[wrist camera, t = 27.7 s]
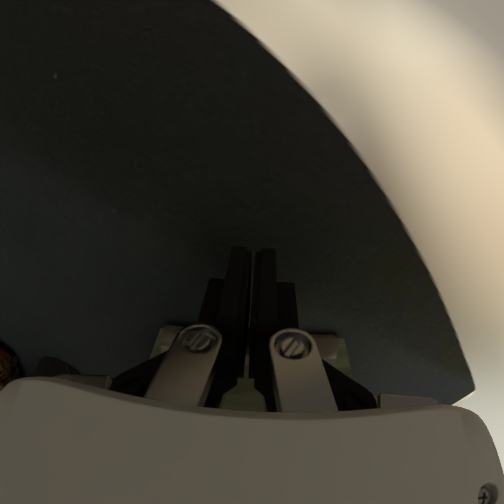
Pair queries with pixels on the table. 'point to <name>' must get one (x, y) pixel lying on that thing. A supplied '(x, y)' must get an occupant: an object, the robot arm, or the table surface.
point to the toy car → (8, 368)
